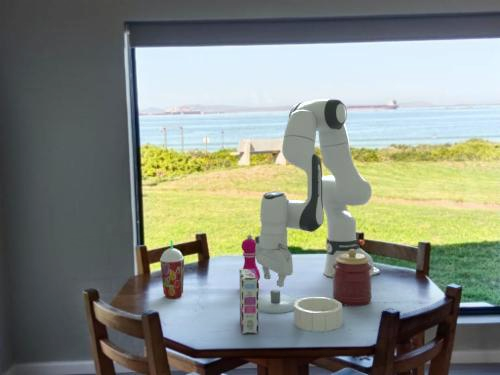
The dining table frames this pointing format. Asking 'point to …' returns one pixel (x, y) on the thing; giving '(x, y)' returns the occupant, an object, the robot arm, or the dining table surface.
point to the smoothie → (172, 272)
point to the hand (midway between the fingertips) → (273, 282)
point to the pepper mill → (250, 255)
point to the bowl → (317, 313)
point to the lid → (276, 303)
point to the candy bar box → (248, 301)
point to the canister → (352, 279)
